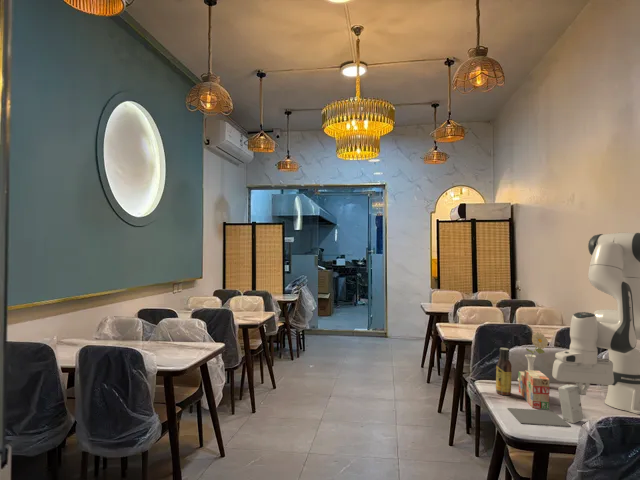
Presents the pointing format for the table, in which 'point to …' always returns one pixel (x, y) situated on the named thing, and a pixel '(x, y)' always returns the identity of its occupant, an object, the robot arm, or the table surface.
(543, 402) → the stack of blocks
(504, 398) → the table surface
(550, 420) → the placemat
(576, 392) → the skincare box
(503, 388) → the sauce bottle
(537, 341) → the flower in vase
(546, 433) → the table surface
